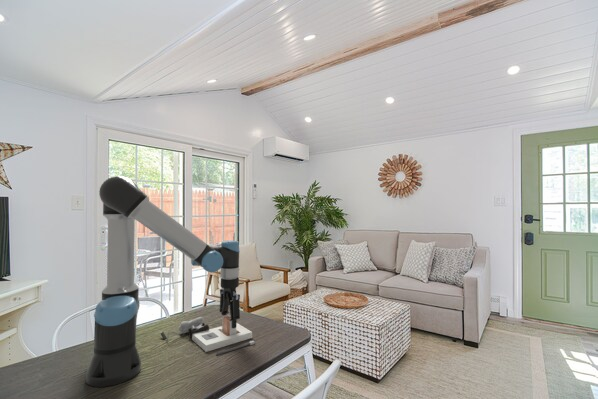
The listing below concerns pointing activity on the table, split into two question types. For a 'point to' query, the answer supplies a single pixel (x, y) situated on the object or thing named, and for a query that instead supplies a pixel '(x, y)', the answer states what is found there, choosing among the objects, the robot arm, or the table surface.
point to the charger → (226, 325)
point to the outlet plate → (220, 337)
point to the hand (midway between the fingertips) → (229, 332)
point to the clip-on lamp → (190, 327)
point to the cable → (236, 347)
